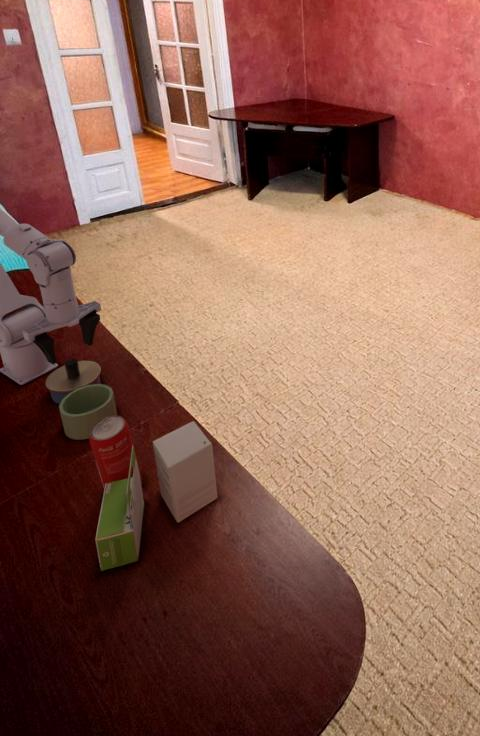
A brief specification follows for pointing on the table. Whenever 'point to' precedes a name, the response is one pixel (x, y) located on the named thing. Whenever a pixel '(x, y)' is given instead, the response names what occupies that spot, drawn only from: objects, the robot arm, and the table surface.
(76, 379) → the lid
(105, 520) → the ink box
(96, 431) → the beverage can
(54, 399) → the pan
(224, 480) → the table surface
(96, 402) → the pot
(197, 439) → the white packaging box
